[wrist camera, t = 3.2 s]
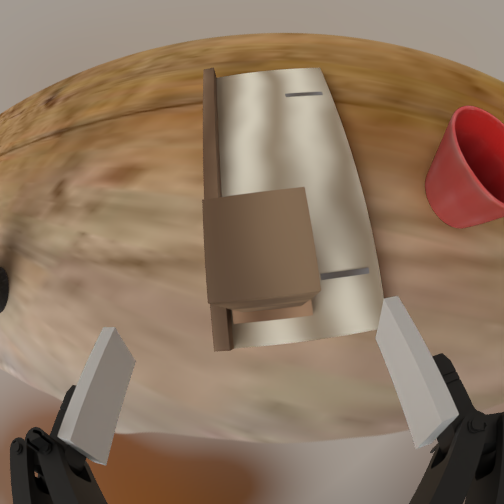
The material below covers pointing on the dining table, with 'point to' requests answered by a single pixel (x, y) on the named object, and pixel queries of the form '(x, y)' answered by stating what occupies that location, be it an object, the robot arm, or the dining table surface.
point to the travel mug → (3, 289)
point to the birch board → (293, 176)
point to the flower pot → (468, 170)
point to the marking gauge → (261, 255)
